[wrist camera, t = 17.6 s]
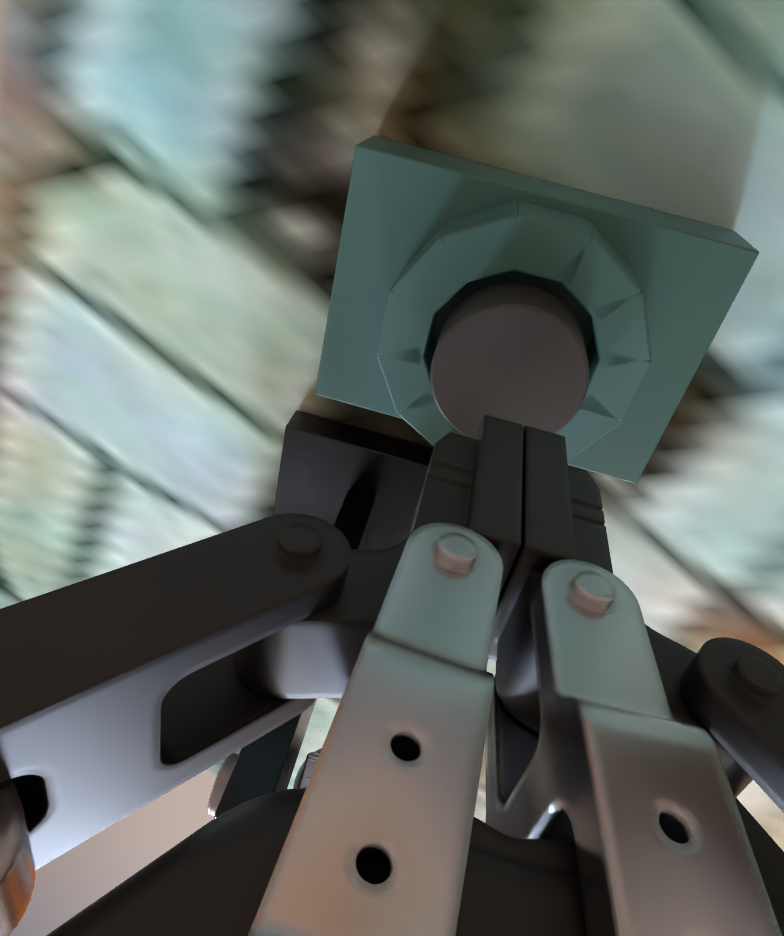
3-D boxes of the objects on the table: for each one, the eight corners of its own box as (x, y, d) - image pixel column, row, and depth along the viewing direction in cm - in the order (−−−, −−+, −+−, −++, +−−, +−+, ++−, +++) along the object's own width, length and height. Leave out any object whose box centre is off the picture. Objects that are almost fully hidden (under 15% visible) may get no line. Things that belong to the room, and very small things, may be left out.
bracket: (503, 639, 27) (487, 1027, 16) (271, 573, 27) (105, 910, 16) (574, 487, 22) (618, 884, 12) (296, 409, 22) (88, 727, 12)
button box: (735, 231, 17) (786, 273, 14) (627, 447, 21) (645, 520, 18) (373, 134, 17) (337, 153, 14) (333, 365, 21) (297, 423, 18)
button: (607, 303, 15) (615, 329, 14) (553, 431, 17) (556, 465, 16) (459, 263, 15) (452, 284, 14) (423, 394, 17) (414, 426, 16)
